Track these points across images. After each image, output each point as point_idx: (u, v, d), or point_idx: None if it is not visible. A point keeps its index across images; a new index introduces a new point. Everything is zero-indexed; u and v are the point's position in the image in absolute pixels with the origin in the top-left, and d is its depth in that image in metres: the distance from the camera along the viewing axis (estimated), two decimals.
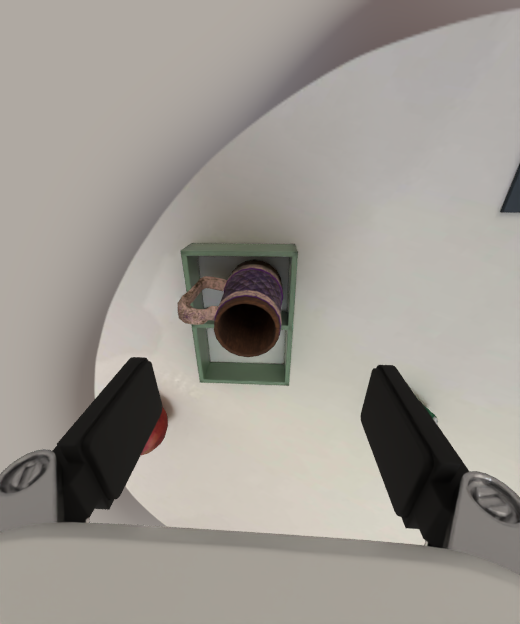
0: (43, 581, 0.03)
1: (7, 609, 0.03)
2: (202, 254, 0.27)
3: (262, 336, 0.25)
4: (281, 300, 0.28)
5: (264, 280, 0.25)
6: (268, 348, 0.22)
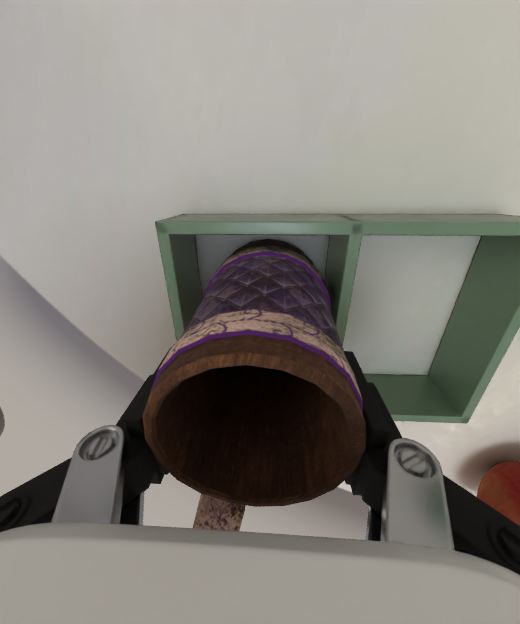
0: (43, 581, 0.03)
1: (7, 609, 0.03)
2: None
3: None
4: (273, 255, 0.12)
5: None
6: (332, 393, 0.05)
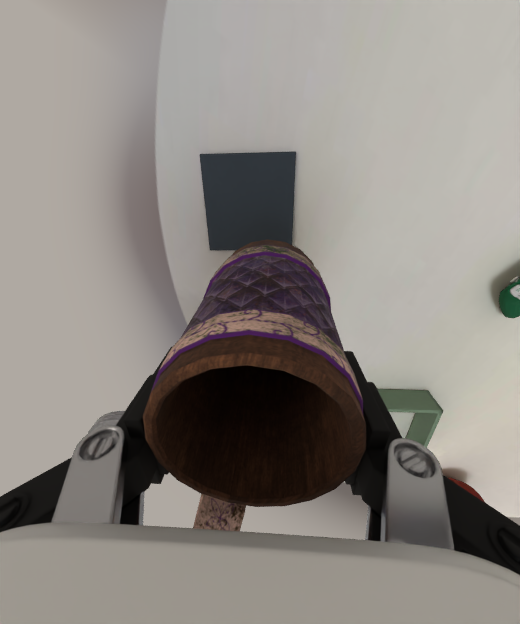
0: (43, 581, 0.03)
1: (7, 609, 0.03)
2: None
3: None
4: (273, 255, 0.12)
5: None
6: (332, 394, 0.05)
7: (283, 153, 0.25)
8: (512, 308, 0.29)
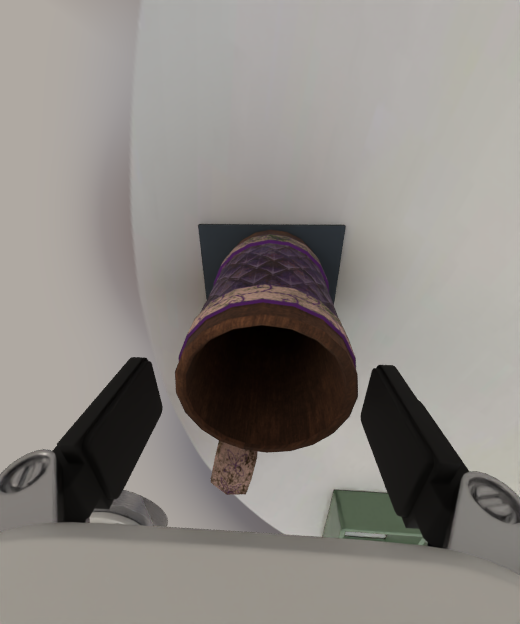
0: (43, 581, 0.03)
1: (7, 609, 0.03)
2: None
3: None
4: (277, 243, 0.13)
5: None
6: (330, 348, 0.07)
7: (326, 227, 0.16)
8: None
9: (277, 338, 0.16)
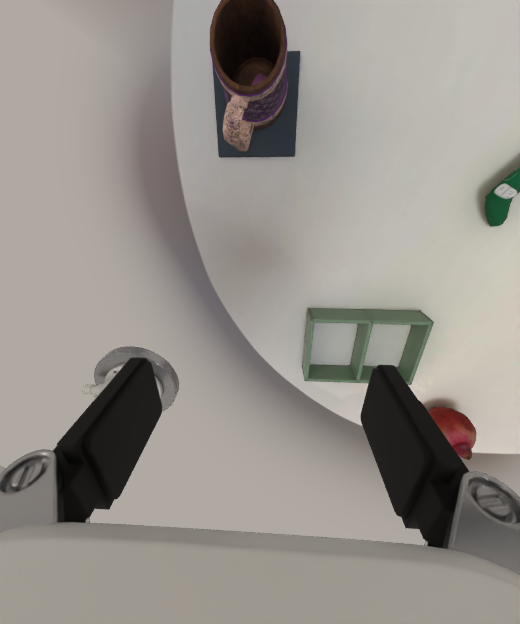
0: (43, 581, 0.03)
1: (7, 609, 0.03)
2: (307, 370, 0.43)
3: (277, 37, 0.21)
4: None
5: None
6: (271, 3, 0.18)
7: (288, 52, 0.27)
8: (496, 211, 0.32)
9: None
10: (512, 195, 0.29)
